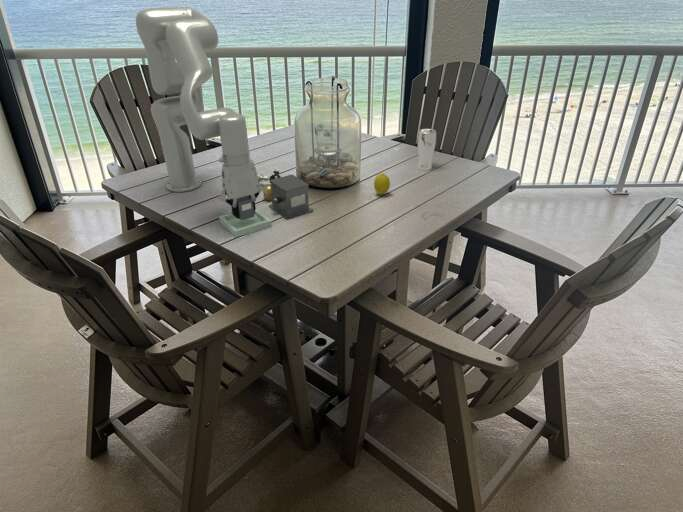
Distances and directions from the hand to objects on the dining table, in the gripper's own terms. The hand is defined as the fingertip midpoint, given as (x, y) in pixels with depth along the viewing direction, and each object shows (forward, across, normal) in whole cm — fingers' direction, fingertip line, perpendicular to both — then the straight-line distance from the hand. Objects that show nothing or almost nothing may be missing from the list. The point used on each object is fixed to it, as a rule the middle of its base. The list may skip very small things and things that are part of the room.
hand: (244, 214), depth 140 cm
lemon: (+4, +49, -8) cm, 50 cm away
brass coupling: (+4, +15, +12) cm, 20 cm away
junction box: (+4, +17, +1) cm, 17 cm away
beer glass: (+4, +80, +2) cm, 80 cm away
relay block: (+1, 0, 0) cm, 1 cm away
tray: (+4, 0, 0) cm, 4 cm away
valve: (+4, +18, +24) cm, 31 cm away
